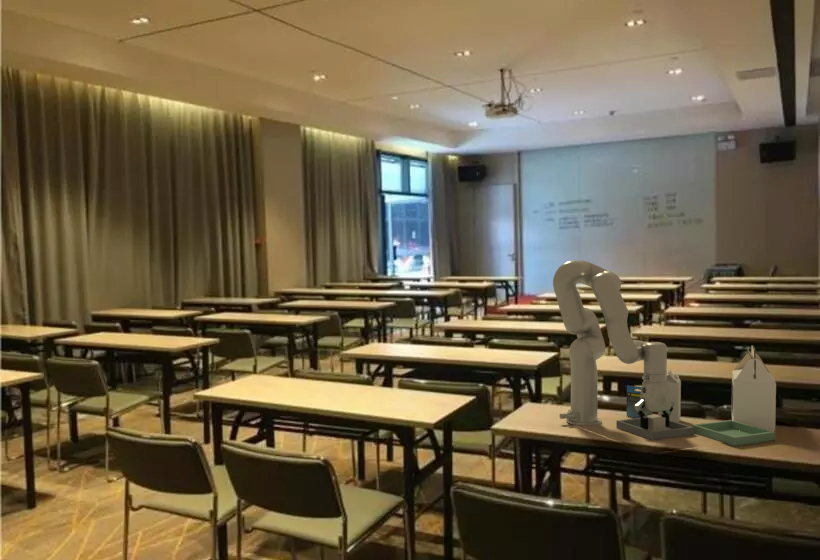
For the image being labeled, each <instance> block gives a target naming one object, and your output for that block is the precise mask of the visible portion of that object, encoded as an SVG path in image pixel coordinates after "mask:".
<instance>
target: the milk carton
mask: <svg viewBox="0 0 820 560" xmlns="http://www.w3.org/2000/svg"><path fill="white" fill-rule="evenodd" d="M667 382H668V383H669V387H670V394H671V400H673V401H674V402H675V405H674V407H673V410H672V412H671V415H669V420H671V421H675V422H679V423H680V421H681V410H682V409H681V407H682V406H681V399H682V395H681V394H682V393H681V392H682V391H681V390H682V388H681V387H682V380H681V379H680V376H679V375H678V374H677V373H673V372H672V368H670V369H669V370H668V373H667ZM662 414H663V412H662V411H661V412H657V415H658V416H661V415H662Z"/></svg>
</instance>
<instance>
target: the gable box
mask: <svg viewBox="0 0 820 560" xmlns="http://www.w3.org/2000/svg"><path fill="white" fill-rule="evenodd" d="M746 349H747V353H746V354H745V355H744V356H743V357H742V359H741V360H740V361H739V363H738V364H737V365H736V366H735V368H734V369H733V370H732V372H731V420H732V421H736V422H740V423H743V424H747V425H751V426H754V427H758V428H762V429H766V430H769V431H775V432H776V412H777V411H776V408H777V407H776V405H777V404H776V403H777V398H776V397H777V396H776V395H777V382H776V380H775V378H774V377H773V374H772V373H771V372H770V370H769V369H768V367H767V366H766V364H765V363H764V362H763V360H762V358H761V357H760V356H759V354H758V353H756V348H755V346H754V345H751V350H749V348H748V347H746Z"/></svg>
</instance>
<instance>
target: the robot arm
mask: <svg viewBox="0 0 820 560" xmlns="http://www.w3.org/2000/svg"><path fill="white" fill-rule="evenodd" d="M577 284H583V285H586V286H587V287H590V288H591V289H592V292H593V294H594V297H595V299H596V300H597V303H598V306H599V308H600V310H601V312H602V315H603V317H604V320H605V326H606V331H607V337H608V338H609V342H610V345H611V346H612V349H613V351H614V353H615V356H616V358H618V359H619V361H620V362H622V363H623V364H626V365H630V364H634V363H637V362H640V361H643V375H642V376H641V379H642V380H643V381H642V382H641V383H642V384H641V387H642V388H641V390H640V391H641V397H640V401H639V402H638V403H637V404H636V405H635V406H634V407H635V410H636V412H637V414H638V415H639V417H640V427H641V428H643V429H646V430H648V418H647V416H648V414H649V412H652V413H658V412H661V411H662V412H663V414H662V415H661V417H665V426H666V427H669V415H671V412H672V410H673V407H674V405H675V402H674V401H673V400H671V394H670V387H669V383H668V382H667V374H668V373H667V369H668V367H667V366H668V364H667V363H668V361H667V360H668V357H667V356H668V355H667V354H668V348H667V347H668V346H667V345H666V344H665V343H664V342H660V341H659V342H658V341H649V342H648V341H643V340H638V339H633V338H632V335H631V333H630V330H629V326H628V316H629V310H628V307H627V304H626V303H625V301H624V297H623V296H622V294H621V293H622V292H621V291H620V290H621V287H622V280H621V278H620V276H619V275H618V274H616V273H615V272H612V271H611V270H607V269H606V268H603V267H601V266H599V265H596V264H594V263H592V262H590V261H586V260H568V261H565V262H563V263H562V264H561V265H560V266H558V268H557V269H556V271H555V273H554V276H553V278H552V286H553V292H554V294H555V298H556V300H557V304H558V309H559V311H560V315H561V318H562V322H563V325H564V328H565V330H566V331H567V332H568V333H570V334H571V335H576V337H577V338H576V339H575V340H573V341H572V343H571V344H570V346H569V352H568V355H569V357H568V358H569V363H570V365H569V366H570V409H567V412H564V413H563V412H562V413H559V419H561V420H565V419H566V420H565V421H566V423H567V424H569V423H570V425H573V426H583V427H584V426H588V427H590V426H591V427H592V426H599V425H601V424H602V422H603V421H602V419H601V418H598V395H599V394H598V387H599V386H598V385H599V384H598V383H599V382H598V379H599V378H598V366H597V360H598V359H600V358H601V357H603V356H604V354H605V350H606V343H605V339H604V336H603V334H602V330H601V327H600V324H599V320H598V317H597V315H596V313H594V311H593V310H591V309H590V308H588V307H584V305H583V301H582V298H581V297H582V296H581V294H580V293H579V291H578V289H577ZM640 408H641V409H642V410H641V409H640ZM645 411H646V412H645ZM644 412H645V413H644Z"/></svg>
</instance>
